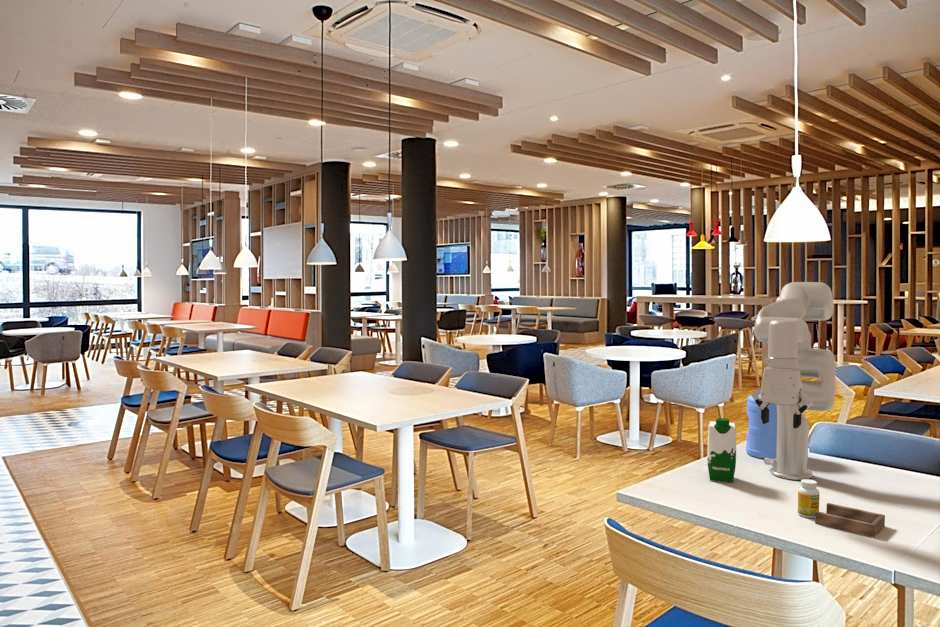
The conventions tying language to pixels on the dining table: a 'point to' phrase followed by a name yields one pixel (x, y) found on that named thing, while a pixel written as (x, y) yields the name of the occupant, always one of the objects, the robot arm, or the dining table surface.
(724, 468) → the milk carton
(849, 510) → the u rest
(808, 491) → the supplement bottle
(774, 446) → the water jug
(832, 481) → the dining table surface
